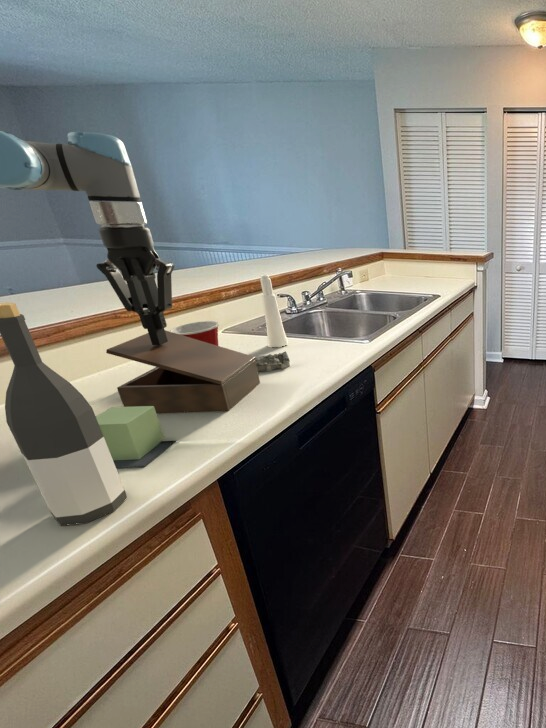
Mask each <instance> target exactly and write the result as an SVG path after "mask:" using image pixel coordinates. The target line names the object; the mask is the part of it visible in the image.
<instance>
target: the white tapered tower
mask: <svg viewBox="0 0 546 728" xmlns="http://www.w3.org/2000/svg"><path fill="white" fill-rule="evenodd" d="M259 281H260V285H261V290H262V295H261V298H262V307H263V313H264V320H265V326H266V337H267V347H268V348H272V347H278V348H283V347H282V346H284V347H286V346H285V345H287V344H288V343H289V340H288V338H287V334H286V332H285V329H284V324H283V321H282V317H281V312H280V309H279V305H278V301H277V296H276V294H275V293H274V290H273V284H272V280H271V278H270V276H269V274H260V279H259ZM289 344H290V343H289ZM289 344H288V345H289ZM288 345H287V346H288Z"/></svg>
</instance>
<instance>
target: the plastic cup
mask: <svg viewBox="0 0 546 728" xmlns="http://www.w3.org/2000/svg"><path fill="white" fill-rule="evenodd" d="M219 326H220V324H219V321H216V320H204V321H203V320H202V321H195V322H194V321H193V322H188V323H184V324H180V325H178V326H176V327H175V326H174V327H173V328H171V329H170V330H169V332H173V333H176V334H179V335H183V336H186V337H189V338H193V339H196V340H200V341H203V342H206V343H210V344H213V345H217V346H219Z"/></svg>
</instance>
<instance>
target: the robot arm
mask: <svg viewBox="0 0 546 728" xmlns="http://www.w3.org/2000/svg"><path fill="white" fill-rule="evenodd" d="M66 135H67V143H51V142H40V141H39V142H38V141H29V140H28V141H27V140H24V139H21V138H19V137H18V136H16V135H13V134H12V133H9V132H7V131H3V130H0V189H6V190H12V191H25V190H26V191H27V190H29V191H30V190H31V191H32V190H33V191H72V192H73V191H74V192H85V193H86V195H87V200H88V203H89V206H90V209H91V212H92V216H93V218H94V221H95V223H96V224H97V225H101V226H100V227H99V229H98V233H99V235H100V239H101V241H102V244H103V247H105V248H106V249H107V254H106V259H105V260H104V261H103V262H99V263H97V264H96V265H95V267H96V268H97V269H98V270H99V272H101V273H102V274H103V275H104V276H105V277H106V279H107V281H108V282H109V284H110V286H111V288H112V289H113V291H114V293H115V294H116V295H117V297H118V300H119V301H120V303H121V304H122V306H123V307H124V310H126V311H127V312H133V313H136V314H138V317H139V319H140V323H141V325H142V328H143V329H144V330H147V333H149V336H150V339H151V342H152V345H161V344H164V343H166V342H168V340H167V336H166V333H165V328H167V327H168V326H167V325H168V323H167V321H166V317H165V314H164V313H165V311H167V310H170V309H172V308H173V291H172V289H173V288H172V287H173V286H172V284H173V283H172V274H173V271H174V269H175V264H174V263H173V262H167V261H165V260H163V259H162V258H160V256H159V255H158V253H157V252H156V251H155V248H154V247H155V243H154V240H153V236H152V233H151V229H150V228H149V227H148V226H146V225H147V224H148V220H147V215H146V213H145V209H144V205H143V202H142V199H141V195H140V191H139V188H138V185H137V180H136V177H135V173H134V169H133V166H132V163H131V161H130V157H129V154H128V152H127V149H126V146H125V144H124V142H123V141H122V140H121V139H119V138H118V137H116V136H114V135H111V134H105V133H98V132H91V131H90V132H89V131H70V132H68V133H67V134H66ZM155 270H156V271H157V274H156V273H155ZM156 278H157V279H156Z"/></svg>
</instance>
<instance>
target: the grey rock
mask: <svg viewBox="0 0 546 728" xmlns="http://www.w3.org/2000/svg"><path fill="white" fill-rule="evenodd" d="M253 356H254V355H253ZM254 357H255V362H256V366H257V371H258V373H259V372H263V371H266V372H270V371H273V370H275V369H281V370H285V369H287V368H288V367H291V365H290V362H291V360H290V358H289V355H288V353H287V351H283V352H278V353H274V354H271V353H269V354H267V355H261V356H257V355H256V356H254Z"/></svg>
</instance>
